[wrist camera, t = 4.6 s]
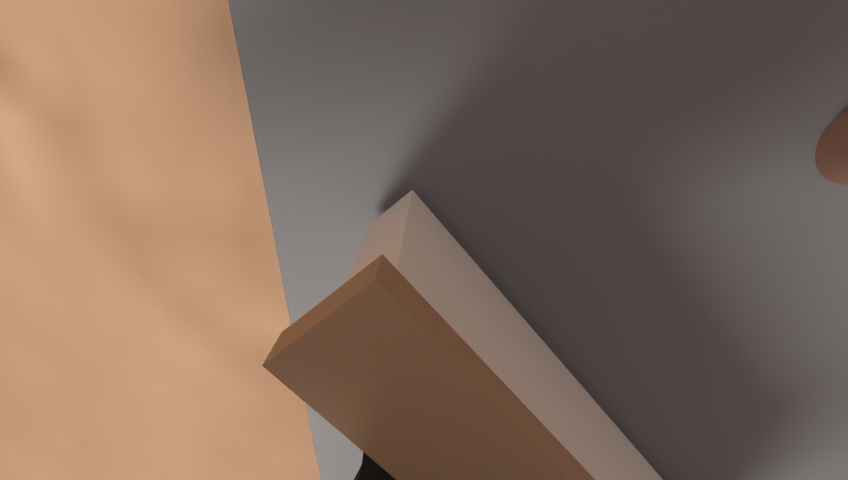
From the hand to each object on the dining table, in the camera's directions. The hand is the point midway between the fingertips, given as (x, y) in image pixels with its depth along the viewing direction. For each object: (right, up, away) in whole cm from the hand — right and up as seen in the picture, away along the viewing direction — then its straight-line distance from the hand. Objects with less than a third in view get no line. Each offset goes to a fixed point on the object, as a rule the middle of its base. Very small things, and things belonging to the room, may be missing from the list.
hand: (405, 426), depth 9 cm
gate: (+4, 0, +1) cm, 4 cm away
